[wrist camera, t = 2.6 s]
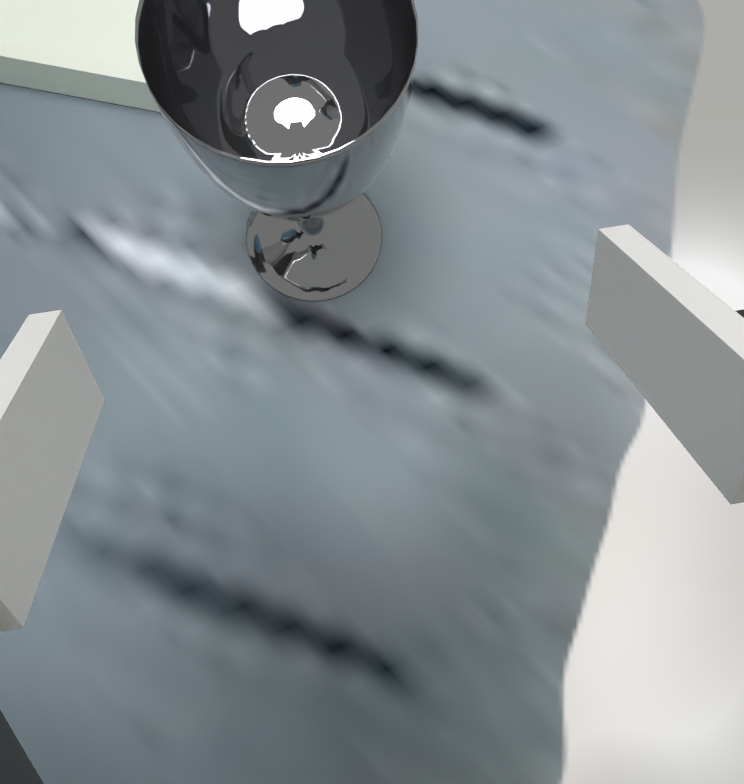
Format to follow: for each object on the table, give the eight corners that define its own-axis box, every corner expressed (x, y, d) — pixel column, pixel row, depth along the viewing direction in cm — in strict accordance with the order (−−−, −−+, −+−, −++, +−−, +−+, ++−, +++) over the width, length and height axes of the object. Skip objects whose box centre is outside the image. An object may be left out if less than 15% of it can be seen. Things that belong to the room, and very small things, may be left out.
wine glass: (393, 169, 32) (425, -88, 17) (385, 313, 31) (412, 171, 16) (244, 159, 32) (149, -108, 17) (232, 304, 31) (118, 152, 16)
